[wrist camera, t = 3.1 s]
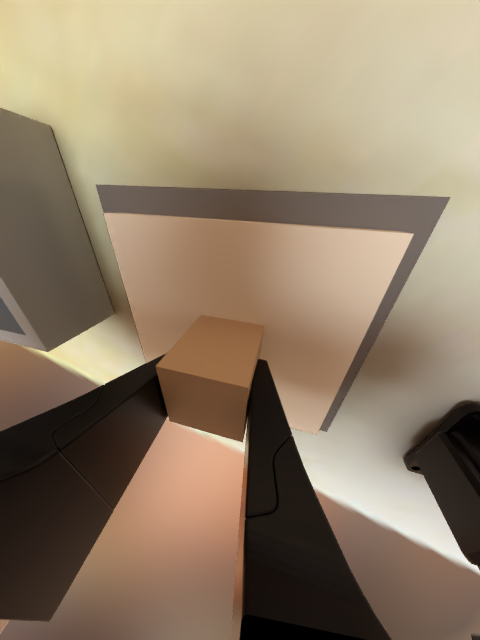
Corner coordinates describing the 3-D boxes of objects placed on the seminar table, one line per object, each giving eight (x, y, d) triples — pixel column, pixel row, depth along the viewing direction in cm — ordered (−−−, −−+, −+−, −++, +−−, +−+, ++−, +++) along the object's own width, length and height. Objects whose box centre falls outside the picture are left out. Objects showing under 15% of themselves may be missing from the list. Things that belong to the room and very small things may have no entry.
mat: (439, 198, 6) (450, 197, 6) (325, 424, 13) (326, 431, 12) (105, 186, 8) (95, 184, 8) (157, 382, 15) (153, 387, 15)
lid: (398, 231, 6) (557, 258, 2) (314, 418, 12) (325, 514, 8) (122, 212, 8) (-21, 212, 4) (162, 381, 14) (114, 444, 10)
